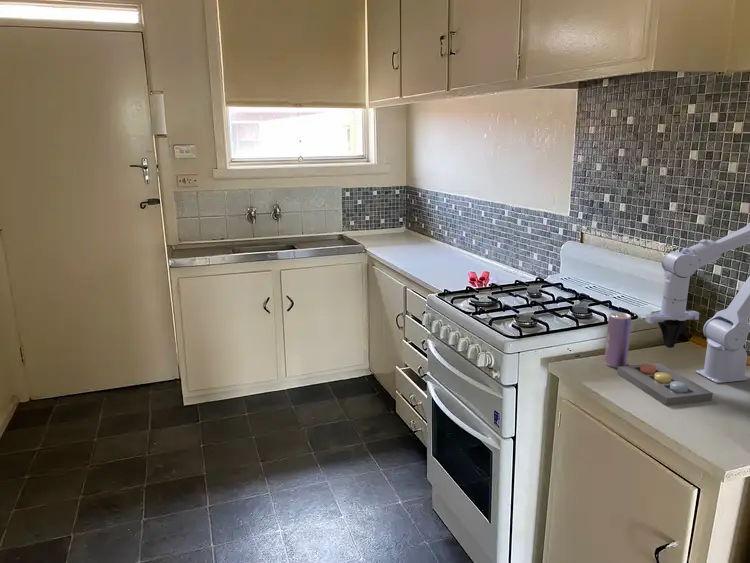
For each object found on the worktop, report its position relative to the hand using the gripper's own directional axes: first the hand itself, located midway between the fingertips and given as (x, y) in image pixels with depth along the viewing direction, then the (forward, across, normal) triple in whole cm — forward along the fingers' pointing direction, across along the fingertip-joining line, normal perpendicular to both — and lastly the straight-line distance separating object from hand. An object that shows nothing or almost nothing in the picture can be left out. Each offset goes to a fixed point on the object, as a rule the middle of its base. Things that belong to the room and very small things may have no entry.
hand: (668, 346), depth 153 cm
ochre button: (+8, -4, -4) cm, 10 cm away
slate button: (+8, -4, -10) cm, 14 cm away
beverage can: (+10, -7, +12) cm, 17 cm away
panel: (+9, -4, -4) cm, 11 cm away
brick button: (+8, -4, +2) cm, 10 cm away
